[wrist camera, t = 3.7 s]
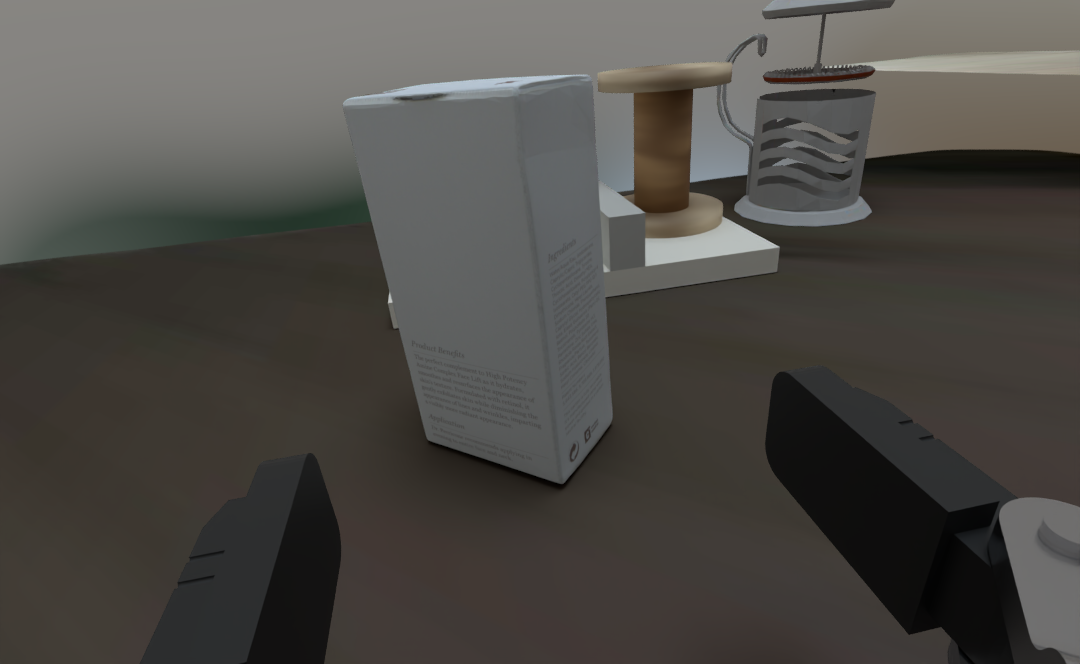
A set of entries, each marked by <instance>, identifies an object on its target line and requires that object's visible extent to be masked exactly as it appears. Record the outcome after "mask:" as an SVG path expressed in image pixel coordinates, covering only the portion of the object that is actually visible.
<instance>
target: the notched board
mask: <svg viewBox="0 0 1080 664" xmlns="http://www.w3.org/2000/svg"><path fill="white" fill-rule="evenodd" d="M598 182H599V201H600V215H601V235H602V253H603V268H604V285H605V297H611V296H618V295H625V294H632V293H638V292H645V291H652V290H659V289H665V288H672V287H679V286H686V285H692V284H699V283H706V282H712V281H719V280H726V279H733V278H739V277H746V276H753V275H760V274H766V273H773V272H777V267H778V258H779V249H780V247H778V246H777V245H775V244H773V243H771V242H769V241H767V240H765V239H763V238H762V237H760V236H758V235H756V234H754V233H752V232H750V231H749V230H747V229H745V228H743V227H741V226H739V225H737V224H736V223H734V222H732V221H730V220H728V219H726V218H724V217H723V216H722V223H721V224H720V225H719V226H718V227H716V228H715V229H713V230H710V231H708V232H705V233H701V234H697V235H692V236H686V237H677V238H645V212H643V211H642V210H641V209H639V208H638V207H636V206H635V205H634V204H632V203H631V202H629V201H628V200H627V199H625V198H624V197H622V196H621V195H619V194H618V193H617V192H615V191H614V190H612V189H611V188H610V187H608V186H607V185H605V184H604V183H602V182H601V181H600V180H598ZM388 305H389V310H390V315H391V319H392V324H393V328H394V329H396V328H399V327H398V323H397V319H396V315H395V311H394V307H393V303H392V299H391V295H390V293H389V300H388Z"/></svg>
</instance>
